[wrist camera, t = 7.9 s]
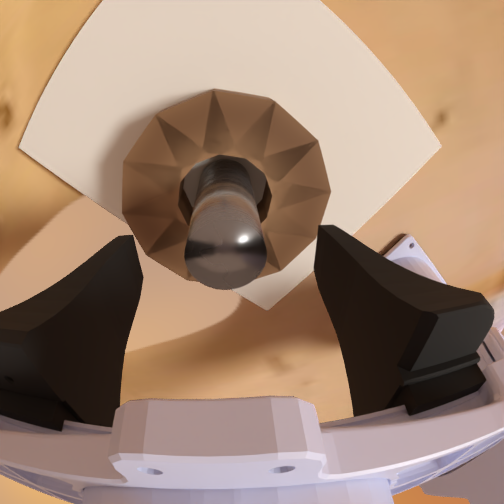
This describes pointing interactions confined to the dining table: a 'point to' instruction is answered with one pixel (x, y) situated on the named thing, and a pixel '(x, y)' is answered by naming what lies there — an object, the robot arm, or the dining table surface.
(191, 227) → the peg
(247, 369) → the dining table surface
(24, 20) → the dining table surface
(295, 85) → the mat
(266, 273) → the ring
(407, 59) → the dining table surface
